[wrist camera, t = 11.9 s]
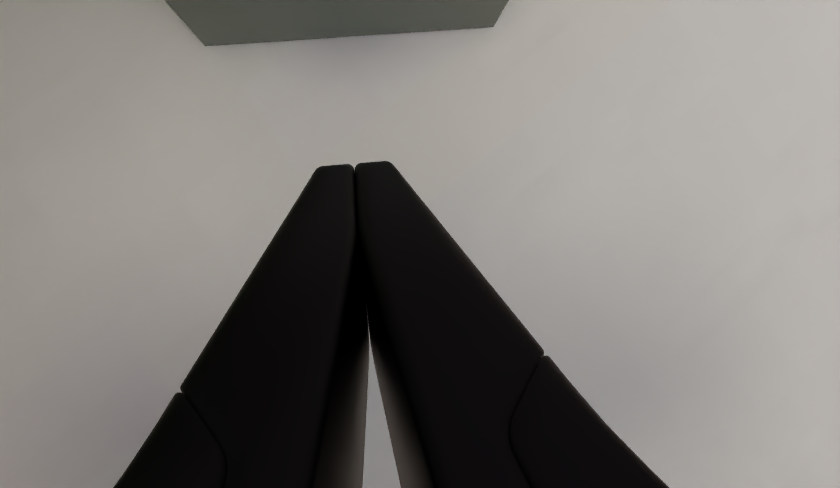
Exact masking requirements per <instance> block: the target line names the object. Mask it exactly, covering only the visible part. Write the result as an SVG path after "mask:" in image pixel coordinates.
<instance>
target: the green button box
mask: <svg viewBox="0 0 840 488" xmlns="http://www.w3.org/2000/svg"><path fill="white" fill-rule="evenodd" d="M508 1H509V0H165V2H166V3H167V4H168V5H169V6H170V7H171V8H172V9H173V11H174V12H175V13H176V14H177V15H178V16H179V17H180V19H181V20H182V21H183V22H184V23H185V24H186V25H187V26H188V28H189V29H190V30H191V31H192V32H193V33H194V34H195V35H196V37H197V38H198V39H199V40H200V41H201V42H202V43H203V44H204V45H205V46H213V45H228V44H243V43H258V42H273V41H289V40H304V39H319V38H334V37H349V36H364V35H380V34H395V33H410V32H425V31H440V30H455V29H471V28H486V27H493V26H494V25H495V23H496V22H497V20H498V18H499V16H500V15H501V13H502V11H503V10H504V8H505V6H506V4H507V3H508Z"/></svg>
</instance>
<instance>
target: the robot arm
mask: <svg viewBox="0 0 840 488" xmlns="http://www.w3.org/2000/svg"><path fill="white" fill-rule="evenodd" d="M367 315H368V316H367ZM368 324H369V330H368ZM369 333H370V341H371V348H372V354H373V359H374V364H375V369H376V374H377V378H378V383H379V388H380V392H381V397H382V401H383V406H384V411H385V415H386V420H387V425H388V429H389V434H390V438H391V443H392V448H393V452H394V457H395V462H396V466H397V471H398V475H399V480H400V485H401V488H669V487H668V486H667V485H666V484H665V483H664V482H663V481H662V480H661V479H660V478H659V477H658V476H657V475H656V474H655V473H654V472H653V471H652V470H651V469H650V468H649V467H648V466H647V465H646V464H645V463H644V462H643V461H642V460H641V459H640V458H639V457H638V456H637V455H636V454H635V453H634V452H633V451H632V450H631V449H630V448H629V447H628V446H627V445H626V444H625V443H624V442H623V441H622V440H621V439H620V438H619V437H618V436H617V435H616V434H615V433H614V432H613V431H612V430H611V428H610V427H609V426H608V425H607V424H606V423H605V422H604V421H603V420H602V419H601V418H600V416H599V415H598V414H597V413H596V412H595V411H594V409H593V408H592V407H591V406H590V405H589V404H588V403H587V401H586V400H585V399H584V398H583V397H582V396H581V394H580V393H579V392H578V391H577V390H576V389H575V388H574V386H573V385H572V384H571V383H570V382H569V380H568V379H567V378H566V377H565V375H564V374H563V373H562V372H561V371H560V369H559V368H558V367H557V366H556V364H555V363H554V362H553V361H552V359H551V358H550V357H549V356H543V355H544V350H543V349H542V348H541V346H540V345H539V344H538V343H537V341H536V340H535V339H534V338H533V337H532V335H531V334H530V333H529V332H528V330H527V329H526V328H525V327H524V325H523V324H522V323H521V322H520V320H519V319H518V318H517V317H516V316H515V314H514V313H513V312H512V311H511V309H510V308H509V307H508V306H507V304H506V303H505V302H504V301H503V300H502V298H501V297H500V296H499V295H498V293H497V292H496V291H495V290H494V288H493V287H492V286H491V285H490V284H489V282H488V281H487V280H486V279H485V277H484V276H483V275H482V274H481V272H480V271H479V270H478V269H477V268H476V266H475V265H474V264H473V263H472V261H471V260H470V259H469V258H468V256H467V255H466V254H465V253H464V252H463V250H462V249H461V248H460V247H459V245H458V244H457V243H456V242H455V240H454V239H453V238H452V237H451V236H450V234H449V233H448V232H447V231H446V229H445V228H444V227H443V226H442V224H441V223H440V222H439V221H438V220H437V218H436V217H435V216H434V215H433V213H432V212H431V211H430V210H429V208H428V207H427V206H426V205H425V203H424V202H423V201H422V200H421V199H420V197H419V196H418V195H417V194H416V192H415V191H414V190H413V189H412V187H411V186H410V185H409V184H408V183H407V181H406V180H405V179H404V178H403V176H402V175H401V174H400V173H399V171H398V170H397V169H396V168H395V167H394V165H393V164H392V163H390V162H388V161H381V162H369V163H359V164H358V165H356V167H355V171H354V168H353V167H352V166H351V165H349V164H343V165H331V166H321V167H319V168H317V169H316V170H315V172H314V173H313V175H312V177H311V178H310V180H309V181H308V183H307V185H306V186H305V188H304V189H303V191H302V193H301V194H300V196H299V197H298V199H297V201H296V202H295V204H294V205H293V207H292V209H291V210H290V212H289V213H288V215H287V217H286V218H285V220H284V221H283V223H282V225H281V226H280V228H279V229H278V231H277V233H276V234H275V236H274V237H273V239H272V241H271V242H270V244H269V245H268V247H267V249H266V250H265V252H264V253H263V255H262V257H261V258H260V260H259V261H258V263H257V265H256V266H255V268H254V269H253V271H252V273H251V274H250V276H249V277H248V279H247V281H246V282H245V284H244V285H243V287H242V289H241V290H240V292H239V293H238V295H237V297H236V298H235V300H234V301H233V303H232V305H231V306H230V308H229V309H228V311H227V313H226V314H225V316H224V317H223V319H222V321H221V322H220V324H219V325H218V327H217V329H216V330H215V332H214V333H213V335H212V337H211V338H210V340H209V341H208V343H207V345H206V346H205V348H204V349H203V351H202V353H201V354H200V356H199V357H198V359H197V361H196V362H195V364H194V365H193V367H192V369H191V370H190V372H189V373H188V375H187V377H186V378H185V380H184V381H183V383H182V385H181V387H180V390H181V392H182V393H181V392H178V393H176V394H175V395H174V397H173V398H172V400H171V402H170V403H169V405H168V406H167V408H166V410H165V411H164V413H163V414H162V416H161V418H160V419H159V421H158V423H157V424H156V426H155V427H154V429H153V430H152V432H151V433H150V435H149V436H148V438H147V439H146V441H145V442H144V444H143V445H142V447H141V448H140V450H139V451H138V453H137V454H136V456H135V457H134V459H133V460H132V462H131V463H130V465H129V466H128V468H127V469H126V471H125V472H124V474H123V475H122V477H121V478H120V479H119V481H118V482H117V483H116V485H115V486H114V487H113V488H362V484H363V465H364V446H365V427H366V408H367V389H368V370H369Z"/></svg>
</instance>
